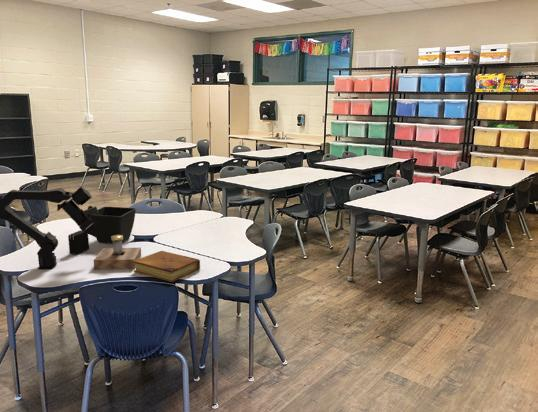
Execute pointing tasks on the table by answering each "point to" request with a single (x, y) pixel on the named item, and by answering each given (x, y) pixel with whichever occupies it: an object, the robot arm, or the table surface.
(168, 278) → the diary
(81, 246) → the electronic device
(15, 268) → the table surface
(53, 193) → the robot arm
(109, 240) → the flower pot
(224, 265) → the table surface
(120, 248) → the pin
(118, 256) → the socket block
